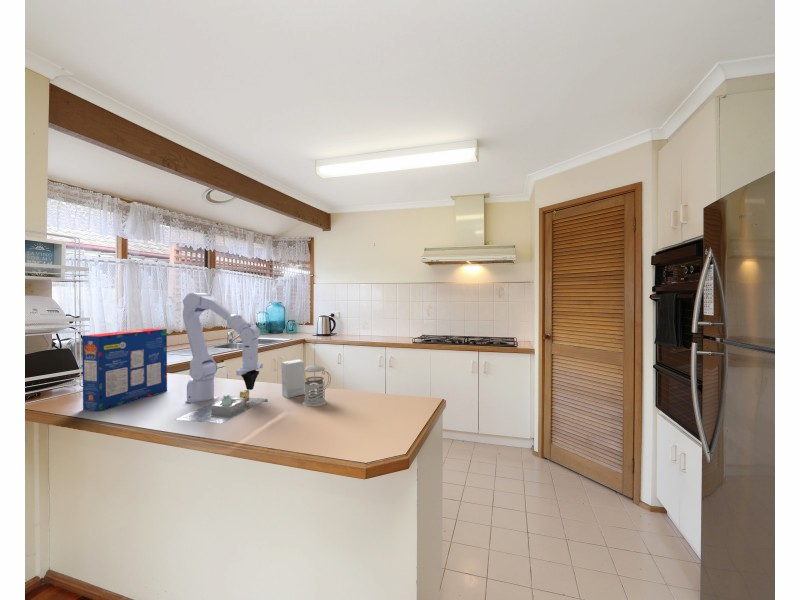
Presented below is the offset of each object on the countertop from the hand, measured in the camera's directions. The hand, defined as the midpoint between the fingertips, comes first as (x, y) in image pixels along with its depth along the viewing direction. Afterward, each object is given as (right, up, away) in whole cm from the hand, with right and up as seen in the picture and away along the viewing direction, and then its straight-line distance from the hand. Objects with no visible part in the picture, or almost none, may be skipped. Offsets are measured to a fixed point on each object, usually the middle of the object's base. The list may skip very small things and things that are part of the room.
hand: (249, 389), depth 139 cm
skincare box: (+15, -5, +9) cm, 18 cm away
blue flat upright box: (-51, -5, +2) cm, 51 cm away
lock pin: (-1, -4, -8) cm, 9 cm away
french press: (+27, -5, 0) cm, 28 cm away
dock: (-4, -5, -11) cm, 13 cm away
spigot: (-2, -4, -15) cm, 16 cm away
